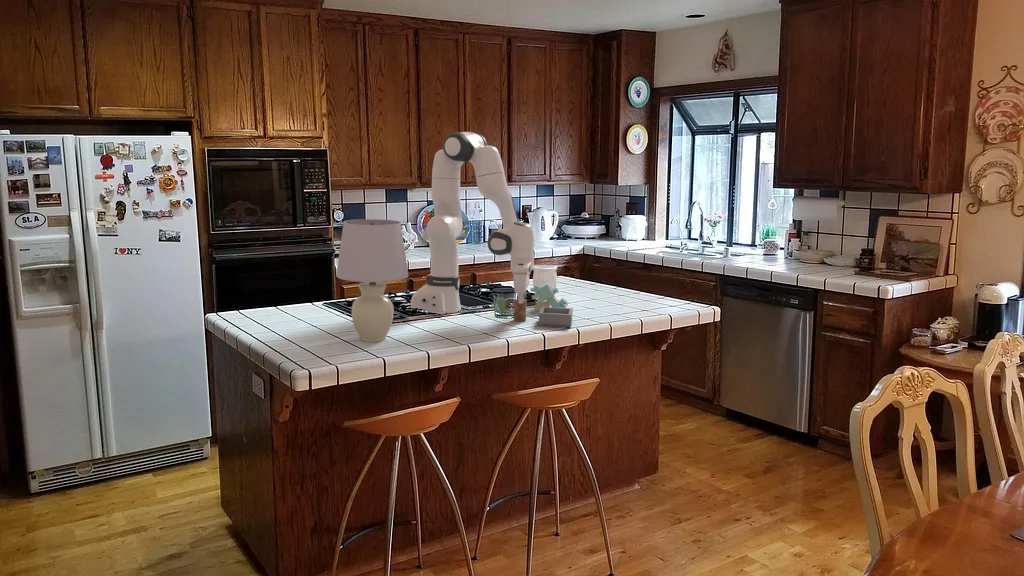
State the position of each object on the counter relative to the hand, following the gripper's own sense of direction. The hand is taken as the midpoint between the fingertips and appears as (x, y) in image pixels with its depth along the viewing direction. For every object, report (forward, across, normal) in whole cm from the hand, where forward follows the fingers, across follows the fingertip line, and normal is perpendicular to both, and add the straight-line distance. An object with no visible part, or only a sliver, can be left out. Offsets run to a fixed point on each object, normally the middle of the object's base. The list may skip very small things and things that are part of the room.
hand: (522, 300), depth 299 cm
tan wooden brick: (+8, 0, -1) cm, 8 cm away
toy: (+8, -21, +9) cm, 25 cm away
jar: (+8, -41, +5) cm, 42 cm away
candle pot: (+8, +2, +13) cm, 15 cm away
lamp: (+7, +40, -47) cm, 62 cm away
